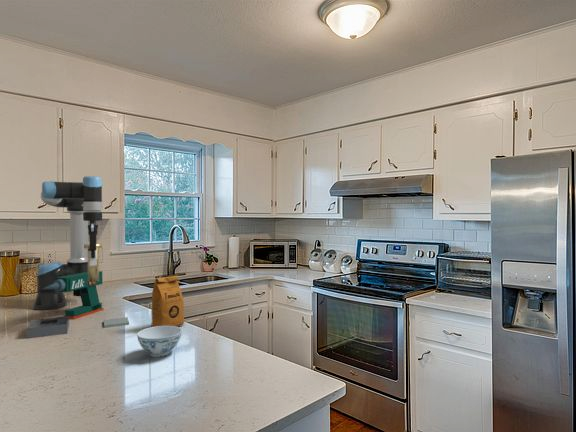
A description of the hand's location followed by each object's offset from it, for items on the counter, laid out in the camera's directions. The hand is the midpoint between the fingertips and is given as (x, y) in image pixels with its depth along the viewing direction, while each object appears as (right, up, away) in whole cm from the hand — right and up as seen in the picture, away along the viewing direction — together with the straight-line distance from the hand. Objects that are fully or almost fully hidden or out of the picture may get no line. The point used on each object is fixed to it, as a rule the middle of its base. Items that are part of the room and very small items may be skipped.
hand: (93, 264), depth 174 cm
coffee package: (+34, -27, -2) cm, 43 cm away
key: (0, -7, 0) cm, 7 cm away
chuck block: (-15, -27, -7) cm, 32 cm away
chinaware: (+40, -27, -34) cm, 60 cm away
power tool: (-17, -27, +15) cm, 35 cm away
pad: (+8, -27, +4) cm, 29 cm away
